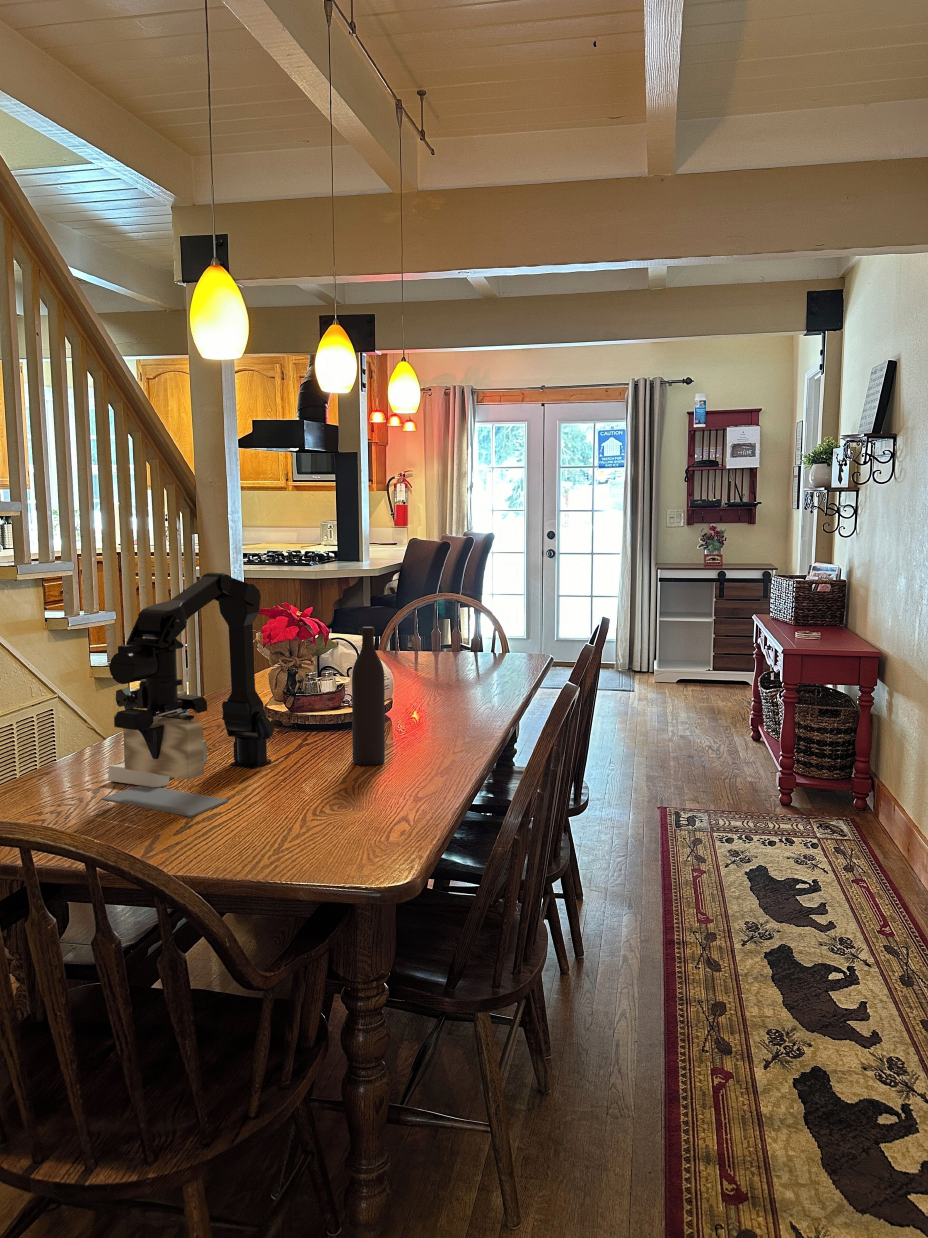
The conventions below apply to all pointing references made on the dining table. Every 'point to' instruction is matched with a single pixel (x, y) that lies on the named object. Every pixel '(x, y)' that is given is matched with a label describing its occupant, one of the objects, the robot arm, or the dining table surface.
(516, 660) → the dining table surface
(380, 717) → the wine bottle
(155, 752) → the robot arm
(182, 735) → the beige brown block
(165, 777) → the offcut lower
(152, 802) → the mat
